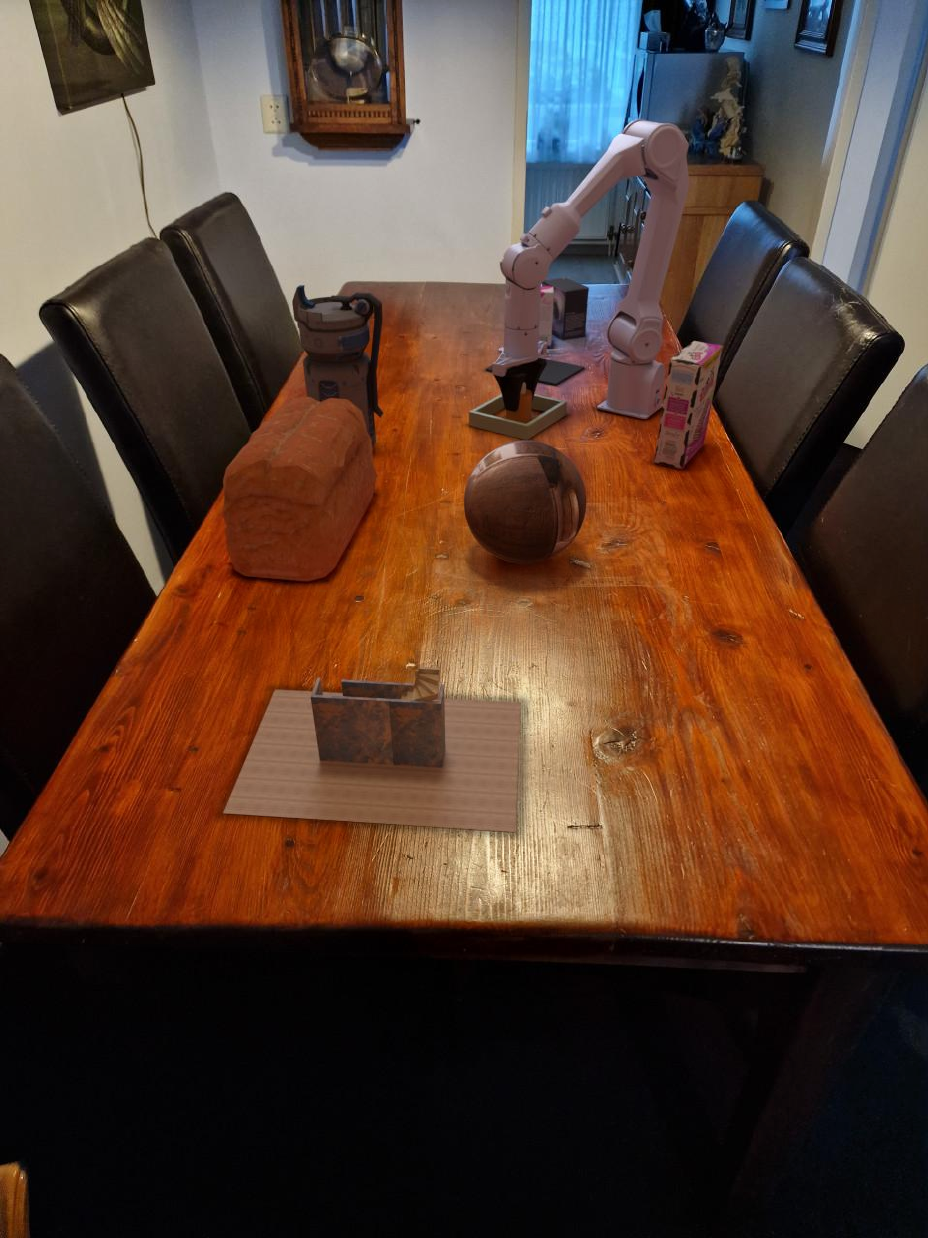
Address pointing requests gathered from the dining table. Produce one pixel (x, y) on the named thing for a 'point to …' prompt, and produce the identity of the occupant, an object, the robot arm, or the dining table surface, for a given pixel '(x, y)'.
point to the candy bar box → (687, 403)
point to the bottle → (522, 407)
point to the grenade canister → (341, 349)
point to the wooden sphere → (525, 502)
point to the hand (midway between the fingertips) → (518, 405)
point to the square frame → (486, 421)
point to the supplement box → (546, 315)
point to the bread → (298, 490)
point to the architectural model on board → (384, 757)
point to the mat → (555, 372)
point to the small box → (568, 307)
